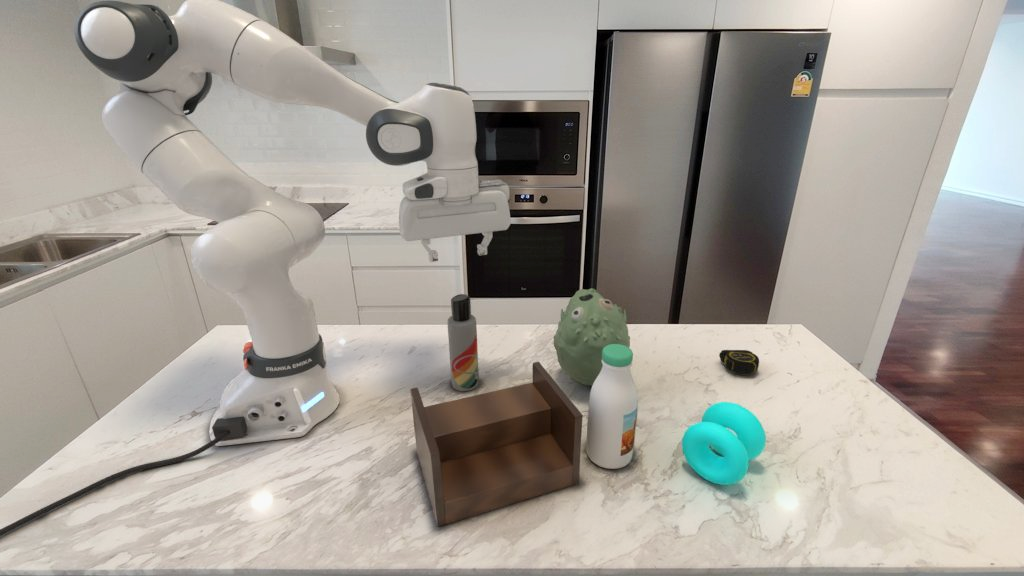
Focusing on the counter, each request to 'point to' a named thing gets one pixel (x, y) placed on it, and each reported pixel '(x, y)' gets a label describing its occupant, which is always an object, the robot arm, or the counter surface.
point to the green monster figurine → (588, 334)
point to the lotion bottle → (463, 344)
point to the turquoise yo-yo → (724, 443)
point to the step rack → (497, 447)
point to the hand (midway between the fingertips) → (458, 257)
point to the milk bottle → (612, 410)
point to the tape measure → (740, 361)
